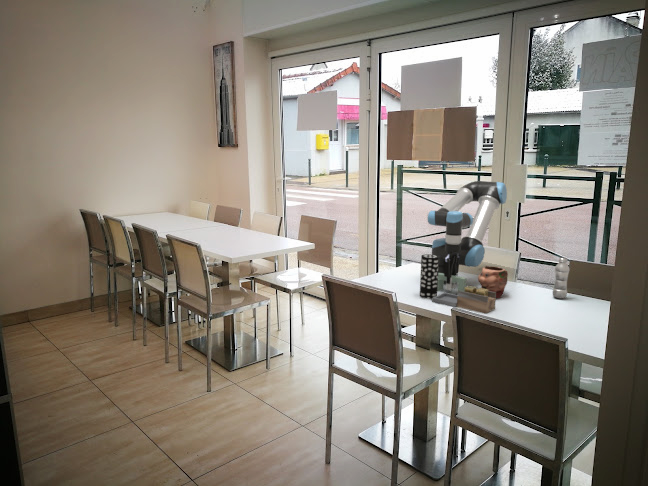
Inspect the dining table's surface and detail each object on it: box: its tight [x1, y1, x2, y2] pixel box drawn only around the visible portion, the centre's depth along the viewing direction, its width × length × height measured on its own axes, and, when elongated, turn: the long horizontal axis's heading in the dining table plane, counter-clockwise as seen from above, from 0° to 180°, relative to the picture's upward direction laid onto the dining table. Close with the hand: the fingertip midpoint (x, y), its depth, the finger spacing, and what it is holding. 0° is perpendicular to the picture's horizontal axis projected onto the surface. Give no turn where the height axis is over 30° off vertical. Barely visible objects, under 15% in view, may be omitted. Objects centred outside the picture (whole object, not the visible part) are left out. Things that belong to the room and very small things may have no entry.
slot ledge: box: [456, 291, 497, 314], centre depth 234 cm, size 10×14×8 cm
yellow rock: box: [476, 287, 488, 297], centre depth 232 cm, size 4×4×4 cm
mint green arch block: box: [437, 273, 467, 295], centre depth 257 cm, size 6×15×8 cm, turn 49°
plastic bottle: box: [552, 256, 570, 300], centre depth 248 cm, size 6×7×20 cm
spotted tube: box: [419, 253, 439, 300], centre depth 249 cm, size 8×8×20 cm
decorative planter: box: [477, 265, 509, 299], centre depth 252 cm, size 20×12×14 cm, turn 130°
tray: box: [431, 291, 458, 308], centre depth 243 cm, size 12×12×2 cm
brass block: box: [465, 285, 478, 294], centre depth 235 cm, size 4×4×4 cm
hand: (450, 288), depth 257 cm, fingers closed on mint green arch block, 3 cm apart
